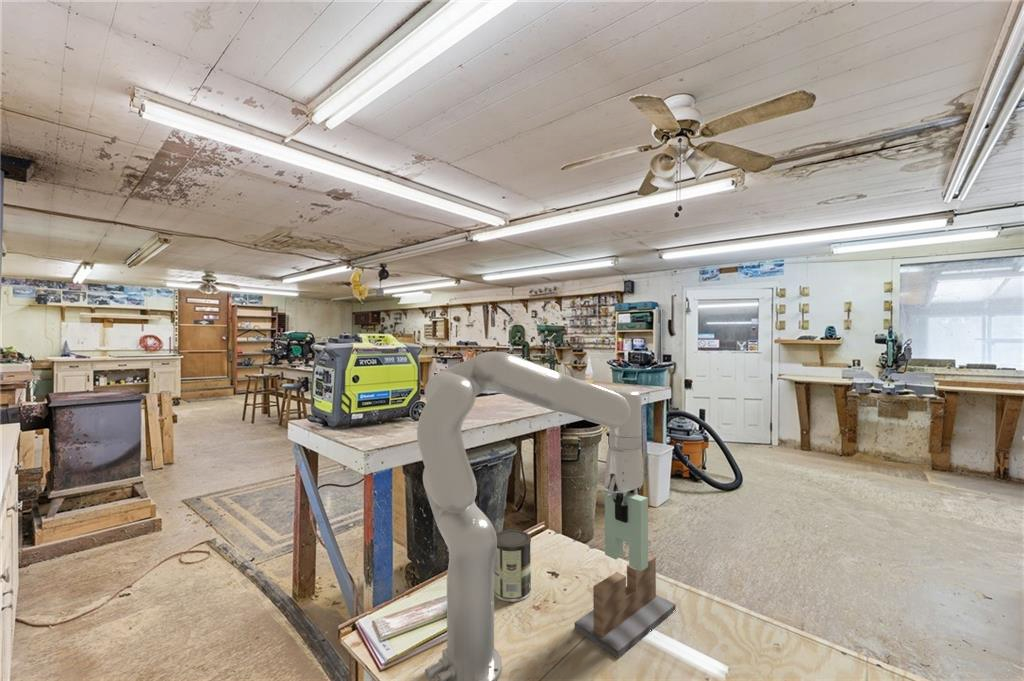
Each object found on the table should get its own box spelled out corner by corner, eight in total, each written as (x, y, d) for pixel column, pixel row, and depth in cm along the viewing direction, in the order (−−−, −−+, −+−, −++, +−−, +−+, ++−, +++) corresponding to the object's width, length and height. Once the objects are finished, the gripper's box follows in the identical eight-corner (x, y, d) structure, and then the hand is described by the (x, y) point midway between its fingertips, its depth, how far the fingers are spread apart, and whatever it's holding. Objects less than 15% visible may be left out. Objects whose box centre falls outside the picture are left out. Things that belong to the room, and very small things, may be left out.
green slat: (640, 571, 95) (640, 501, 95) (604, 554, 102) (604, 489, 103) (648, 566, 97) (647, 497, 97) (612, 550, 104) (612, 486, 105)
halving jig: (618, 658, 87) (618, 603, 87) (574, 628, 96) (574, 578, 96) (675, 610, 103) (675, 563, 103) (633, 588, 112) (632, 545, 112)
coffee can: (520, 576, 118) (520, 526, 118) (538, 596, 109) (537, 542, 109) (487, 585, 114) (486, 533, 114) (501, 606, 105) (501, 550, 105)
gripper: (631, 434, 108) (631, 505, 108) (591, 444, 97) (591, 523, 97) (657, 439, 102) (658, 514, 102) (618, 450, 92) (619, 534, 92)
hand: (625, 518), depth 100 cm, fingers closed on green slat, 3 cm apart
